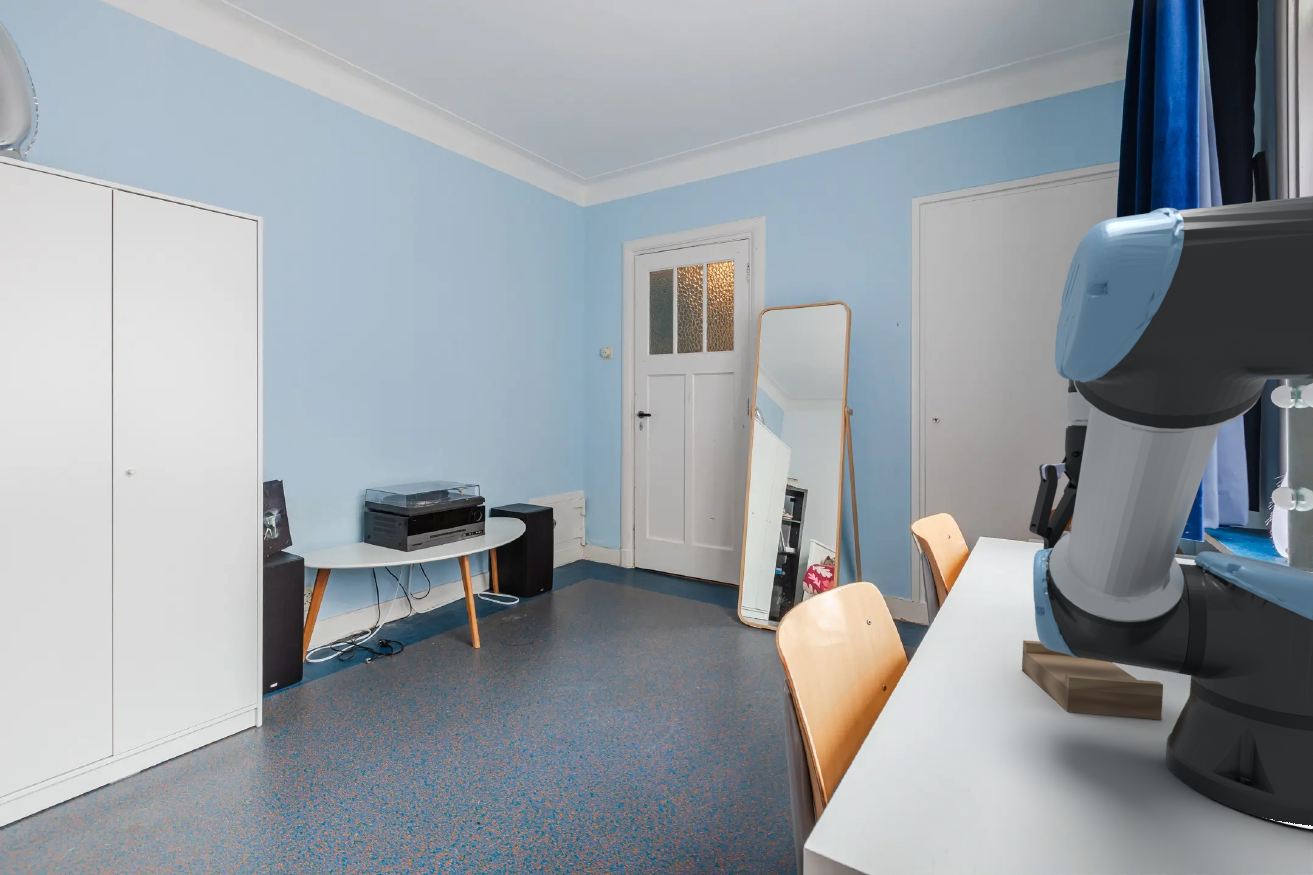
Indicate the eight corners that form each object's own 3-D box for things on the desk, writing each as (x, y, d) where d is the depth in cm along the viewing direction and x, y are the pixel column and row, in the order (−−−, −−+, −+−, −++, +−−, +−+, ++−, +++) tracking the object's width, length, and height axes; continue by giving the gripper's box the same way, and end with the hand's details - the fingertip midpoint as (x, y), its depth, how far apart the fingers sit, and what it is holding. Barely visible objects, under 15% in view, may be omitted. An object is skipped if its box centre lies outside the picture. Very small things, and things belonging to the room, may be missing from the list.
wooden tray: (1161, 719, 81) (1163, 684, 81) (1067, 711, 83) (1068, 677, 83) (1101, 676, 95) (1102, 646, 95) (1021, 669, 97) (1023, 640, 96)
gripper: (1165, 426, 90) (1157, 587, 91) (1005, 422, 93) (999, 577, 94) (1202, 427, 83) (1193, 602, 83) (1028, 422, 86) (1020, 591, 86)
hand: (1090, 589), depth 88 cm, fingers closed on cup, 8 cm apart
